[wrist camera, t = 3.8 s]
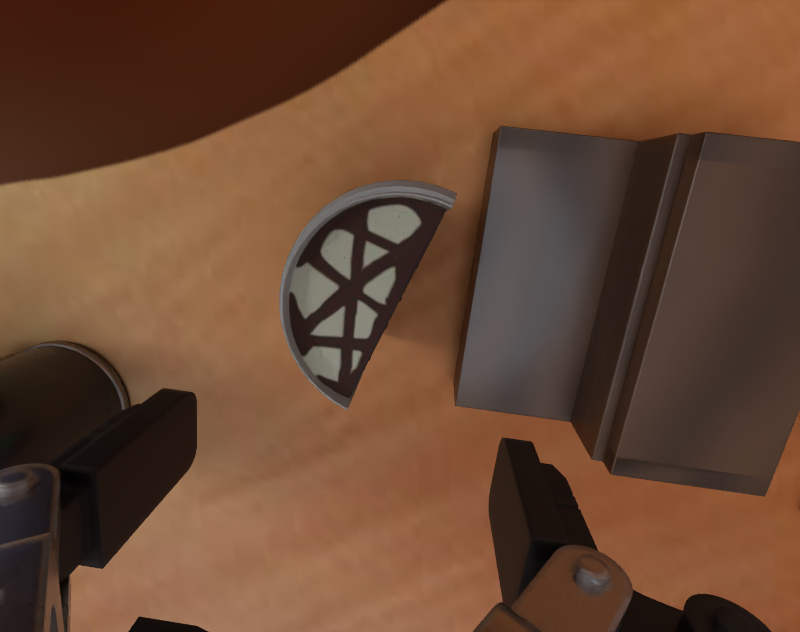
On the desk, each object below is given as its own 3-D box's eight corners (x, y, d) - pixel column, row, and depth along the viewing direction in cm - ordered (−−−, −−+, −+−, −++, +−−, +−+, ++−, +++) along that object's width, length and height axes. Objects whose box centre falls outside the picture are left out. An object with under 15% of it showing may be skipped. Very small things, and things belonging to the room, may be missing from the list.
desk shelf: (453, 383, 33) (458, 453, 25) (493, 132, 29) (517, 110, 20) (679, 414, 33) (765, 497, 24) (758, 162, 28) (902, 153, 19)
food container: (366, 146, 29) (331, 127, 20) (452, 191, 30) (459, 194, 20) (292, 312, 33) (232, 365, 23) (370, 350, 33) (343, 418, 24)
